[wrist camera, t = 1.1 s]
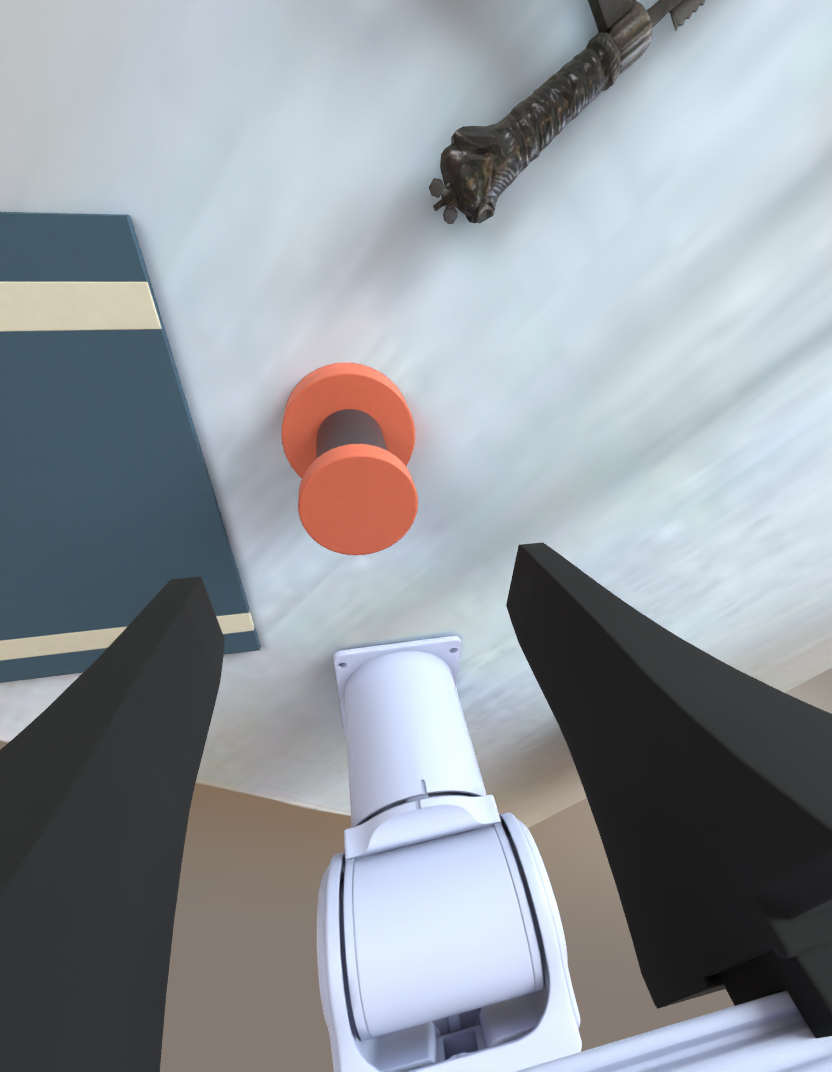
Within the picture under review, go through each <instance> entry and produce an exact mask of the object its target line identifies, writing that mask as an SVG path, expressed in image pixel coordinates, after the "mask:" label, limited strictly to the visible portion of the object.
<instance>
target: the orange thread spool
mask: <svg viewBox="0 0 832 1072" xmlns="http://www.w3.org/2000/svg"><path fill="white" fill-rule="evenodd" d="M414 443H415V428H414V422H413V419H412V416H411V413H410V411H409V408H408V406H407V404H406V402H405V400H404V398H403V396H402V394H401V392H400V391H399V390H398V388H397V387H396V386H395V385H394V383H393V382H392V381H391V380H389V379H388V378H387V377H386V376H385V375H383V374H382V373H380V372H378V371H377V370H374V369H372V368H370V367H367V366H364V365H360V364H355V363H336V364H331V365H327V366H324V367H321V368H319V369H317V370H315V371H313V372H311V373H310V374H308V375H307V376H306V377H304V378H303V379H302V380H301V381H300V382H299V383H298V384H297V386H296V387H295V388H294V390H293V391H292V393H291V395H290V397H289V399H288V401H287V404H286V408H285V413H284V418H283V424H282V444H283V448H284V452H285V454H286V457H287V459H288V461H289V463H290V465H291V466H292V468H293V469H294V470H295V472H296V473H297V474H298V475H299V476H300V477H301V478H302V480H301V484H300V488H299V502H298V510H299V516H300V520H301V522H302V525H303V527H304V528H305V530H306V531H307V533H308V534H309V535H310V536H311V537H312V538H313V539H314V540H315V541H316V542H317V543H319V544H320V545H322V546H323V547H325V548H327V549H329V550H332V551H334V552H338V553H341V554H347V555H365V554H371V553H375V552H378V551H381V550H384V549H386V548H388V547H390V546H391V545H393V544H395V543H396V542H397V541H399V540H400V539H401V538H402V537H403V536H404V535H405V534H406V533H407V531H408V530H409V529H410V527H411V525H412V524H413V522H414V519H415V517H416V513H417V508H418V497H417V492H416V489H415V486H414V483H413V480H412V477H411V475H410V473H409V471H408V469H407V468H406V466H407V464H408V462H409V460H410V458H411V455H412V452H413V448H414Z"/></svg>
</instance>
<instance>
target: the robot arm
mask: <svg viewBox="0 0 832 1072" xmlns="http://www.w3.org/2000/svg"><path fill="white" fill-rule="evenodd" d="M506 606H507V609H508V612H509V615H510V618H511V621H512V625H513V627H514V630H515V633H516V636H517V639H518V642H519V644H520V646H521V648H522V650H523V653H524V655H525V657H526V659H527V661H528V663H529V665H530V667H531V669H532V671H533V673H534V675H535V677H536V679H537V681H538V683H539V686H540V688H541V690H542V692H543V694H544V696H545V698H546V700H547V702H548V704H549V706H550V708H551V710H552V712H553V714H554V716H555V718H556V720H557V722H558V724H559V726H560V729H561V731H562V733H563V736H564V738H565V740H566V742H567V745H568V747H569V750H570V753H571V755H572V758H573V761H574V763H575V766H576V769H577V771H578V774H579V777H580V779H581V782H582V785H583V787H584V790H585V793H586V796H587V799H588V802H589V804H590V807H591V810H592V813H593V816H594V818H595V822H596V824H597V827H598V830H599V833H600V836H601V839H602V842H603V845H604V849H605V852H606V855H607V858H608V861H609V864H610V867H611V870H612V874H613V877H614V880H615V883H616V886H617V889H618V893H619V896H620V900H621V903H622V906H623V910H624V913H625V917H626V920H627V923H628V926H629V930H630V933H631V937H632V940H633V944H634V948H635V951H636V955H637V959H638V962H639V966H640V970H641V973H642V976H643V978H644V980H645V983H646V985H647V988H648V990H649V992H650V994H651V997H652V999H653V1002H654V1004H655V1006H656V1007H657V1008H661V1007H665V1006H668V1005H671V1004H675V1003H678V1002H682V1001H685V1000H689V999H692V998H696V997H699V996H702V995H705V994H709V993H713V992H716V991H720V990H723V989H726V990H727V992H728V994H729V996H730V998H731V999H732V1001H733V1003H734V1005H735V1006H733V1007H730V1008H726V1009H723V1010H720V1011H717V1012H713V1013H710V1014H706V1015H703V1016H700V1017H697V1018H693V1019H690V1020H686V1021H683V1022H679V1023H677V1024H673V1025H670V1026H666V1027H663V1028H659V1029H656V1030H653V1031H649V1032H646V1033H643V1034H639V1035H636V1036H633V1037H629V1038H626V1039H623V1040H619V1041H616V1042H612V1043H609V1044H606V1045H602V1046H599V1047H596V1048H592V1049H589V1050H586V1051H582V1052H581V1047H582V1042H581V1038H580V1035H579V1031H578V1028H579V1025H580V1016H579V1011H578V1008H577V1004H576V1000H575V996H574V992H573V988H572V983H571V980H570V975H569V970H568V965H567V949H566V943H565V937H564V932H563V928H562V923H561V919H560V915H559V912H558V908H557V904H556V901H555V897H554V894H553V891H552V887H551V884H550V881H549V878H548V875H547V872H546V869H545V867H544V864H543V861H542V858H541V856H540V853H539V851H538V848H537V846H536V844H535V842H534V840H533V837H532V835H531V834H530V832H529V830H528V828H527V827H526V826H525V825H524V824H523V823H522V822H520V821H519V820H518V819H516V818H515V816H514V815H513V814H511V813H509V812H507V813H503V814H499V813H498V809H497V806H496V803H495V799H494V796H493V795H486V791H485V788H484V784H483V781H482V777H481V774H480V770H479V767H478V763H477V760H476V756H475V753H474V749H473V746H472V742H471V739H470V736H469V732H468V729H467V725H466V722H465V718H464V715H463V711H462V708H461V704H460V701H459V697H458V694H457V690H456V682H457V674H458V666H459V659H460V651H461V640H460V638H459V637H458V636H448V637H440V638H432V639H425V640H417V641H409V642H402V643H394V644H386V645H378V646H371V647H363V648H355V649H348V650H340V651H337V652H336V653H335V654H334V656H333V661H334V668H335V675H336V681H337V688H338V694H339V701H340V708H341V714H342V721H343V727H344V734H345V736H346V737H347V748H348V768H349V787H350V806H351V824H352V828H349V829H346V830H345V831H344V837H345V839H344V840H345V852H343V853H339V854H336V855H334V856H333V858H332V859H331V861H330V864H329V866H328V868H327V869H326V871H325V873H324V875H323V877H322V880H321V884H320V890H319V897H318V910H317V960H318V975H319V986H320V994H321V1001H322V1007H323V1012H324V1017H325V1020H326V1023H327V1026H328V1029H329V1034H330V1042H331V1049H332V1058H333V1068H334V1072H832V714H830V713H828V712H825V711H823V710H821V709H819V708H816V707H814V706H812V705H809V704H807V703H805V702H803V701H801V700H799V699H796V698H794V697H792V696H790V695H788V694H786V693H783V692H781V691H779V690H777V689H775V688H773V687H771V686H769V685H767V684H765V683H763V682H761V681H759V680H757V679H755V678H753V677H751V676H749V675H747V674H745V673H743V672H741V671H739V670H737V669H735V668H733V667H731V666H729V665H727V664H725V663H723V662H722V661H720V660H718V659H716V658H714V657H713V656H711V655H709V654H707V653H705V652H704V651H702V650H700V649H698V648H697V647H695V646H693V645H691V644H690V643H688V642H686V641H684V640H683V639H681V638H679V637H678V636H676V635H674V634H673V633H671V632H669V631H668V630H666V629H665V628H663V627H662V626H660V625H658V624H657V623H655V622H654V621H652V620H651V619H649V618H648V617H646V616H645V615H643V614H641V613H640V612H638V611H637V610H635V609H634V608H633V607H631V606H630V605H628V604H627V603H625V602H624V601H622V600H621V599H620V598H618V597H617V596H615V595H614V594H612V593H611V592H610V591H608V590H607V589H605V588H604V587H603V586H601V585H600V584H599V583H597V582H596V581H595V580H593V579H592V578H590V577H589V576H588V575H586V574H585V573H584V572H582V571H581V570H580V569H578V568H577V567H576V566H574V565H573V564H572V563H570V562H569V561H568V560H566V559H565V558H564V557H562V556H561V555H560V554H558V553H557V552H556V551H554V550H553V549H551V548H550V547H548V546H547V545H546V544H544V543H534V544H524V545H519V547H518V552H517V556H516V561H515V566H514V571H513V576H512V580H511V585H510V590H509V595H508V600H507V604H506ZM224 642H225V638H224V636H223V633H222V630H221V628H220V625H219V622H218V620H217V617H216V614H215V612H214V609H213V606H212V604H211V601H210V598H209V596H208V593H207V590H206V588H205V585H204V582H203V580H202V577H201V576H199V577H189V578H178V579H171V580H170V581H169V582H168V583H167V584H166V585H165V586H164V587H163V588H162V589H161V590H160V591H159V592H158V594H157V595H156V596H155V597H154V598H153V599H152V600H151V601H150V602H149V603H148V604H147V606H146V607H145V608H144V609H143V610H142V611H141V612H140V613H139V614H138V616H137V617H136V618H135V619H134V620H133V621H132V622H131V623H130V624H129V625H128V626H127V628H126V629H125V630H124V631H123V632H122V633H121V634H120V635H119V636H118V637H117V638H116V639H115V640H114V641H113V643H112V644H111V645H110V646H109V647H108V648H107V649H106V650H105V651H104V652H103V653H102V654H101V655H100V656H99V657H98V658H97V660H96V661H95V662H94V663H93V664H92V665H91V666H90V667H89V668H88V669H87V670H86V671H85V672H84V673H83V674H81V675H80V676H79V677H78V678H77V679H76V680H75V681H74V682H73V683H72V684H71V685H70V686H69V687H68V688H67V689H66V690H65V691H64V692H63V693H62V694H61V695H60V696H59V697H58V698H57V699H56V700H55V701H54V702H53V703H52V704H51V705H50V706H49V707H48V708H47V709H46V710H45V711H44V712H43V713H41V714H40V715H39V716H38V717H37V718H36V719H35V720H34V721H33V722H32V723H31V724H29V725H28V726H27V727H26V728H25V729H24V730H23V731H22V732H21V733H19V734H18V735H17V736H16V737H15V738H14V739H13V740H11V741H10V742H9V743H8V744H7V745H6V746H5V747H3V748H2V749H1V750H0V1072H160V1060H161V1049H162V1036H163V1025H164V1013H165V1002H166V989H167V981H168V972H169V963H170V953H171V944H172V935H173V926H174V917H175V909H176V902H177V894H178V886H179V879H180V871H181V863H182V857H183V849H184V843H185V837H186V836H185V835H186V830H187V823H188V816H189V810H190V805H191V800H192V796H193V791H194V786H195V782H196V778H197V774H198V770H199V766H200V762H201V758H202V754H203V750H204V746H205V742H206V738H207V734H208V730H209V726H210V722H211V718H212V714H213V710H214V706H215V702H216V697H217V693H218V689H219V685H220V678H221V670H222V662H223V652H224Z"/></svg>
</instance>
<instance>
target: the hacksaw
mask: <svg viewBox="0 0 832 1072" xmlns="http://www.w3.org/2000/svg"><path fill="white" fill-rule="evenodd" d="M588 2H589V4H590V7H591V10H592V13H593V16H594V19H595V22H596V25H597V28H598V31H599V33H598V34H597V35H596V36H595V37H593V38H592V39H591V40H590V41H589V43H588V45H587V47H586V49H585V50H583V51H582V52H581V53H579V54H578V55H577V56H575V57H574V58H573V60H572V61H570V62H568V63H567V64H565V65H564V66H563V67H562V68H561V69H560V70H559V72H558V73H556V74H554V75H553V76H552V77H550V78H549V79H548V80H547V81H546V82H545V83H544V84H543V85H542V86H541V87H540V88H538V89H536V90H535V91H534V93H533V94H532V95H531V96H530V97H528V98H527V99H526V100H524V101H523V102H521V103H519V104H518V105H517V106H516V107H515V108H513V110H512V111H511V112H510V114H509V115H507V116H506V117H505V118H503V119H502V120H501V121H500V122H498V123H496V124H493V125H490V126H487V127H482V126H466V127H462V128H460V129H458V130H456V131H455V133H454V134H453V136H452V137H451V145H450V146H448V147H447V148H445V150H444V151H443V152H442V154H441V162H440V169H441V173H442V177H443V181H444V184H443V183H442V181H441V180H440V179H435V178H434V179H433V181H432V183H431V184H430V186H429V189H430V192H431V195H432V196H435V197H437V198H439V197H440V196H441V197H442V199H441V200H440V201H439V202H437V203H436V204H435V205H433V208H434V210H435V211H437V210H438V209H440V208H441V207H442V206H444V205H445V206H446V209H445V210H444V213H443V217H444V221H445V222H447V223H448V224H453V223H454V222H455V220H456V219H457V211H456V209H455V207H457V208H458V209H459V210H460V211H461V212H462V213H463V214H465V216H466V217H467V219H468V220H469V222H472V223H477V222H478V223H481V222H483V221H484V220H486V219H488V218H490V217H492V216H493V214H494V210H495V204H496V201H497V198H498V197H499V195H500V194H501V193H502V192H503V191H504V189H505V188H506V187H508V186H509V185H510V184H511V183H512V182H513V181H514V179H515V178H516V177H517V175H518V174H519V173H520V172H521V171H522V170H524V169H525V168H526V167H527V166H528V164H529V162H531V161H532V160H534V159H535V158H537V157H538V156H539V153H540V152H541V151H542V150H543V149H544V148H545V147H546V146H547V145H548V144H549V143H550V142H551V141H552V139H553V138H554V137H555V136H556V135H557V134H559V133H560V132H561V130H562V129H563V128H564V127H565V126H566V125H567V124H568V123H569V122H570V121H571V120H572V119H574V118H575V117H576V116H577V115H578V114H579V113H580V112H581V110H582V109H583V108H585V107H586V106H587V105H588V104H589V103H590V102H591V101H593V100H594V99H595V98H596V97H597V95H598V94H599V93H600V92H601V91H604V90H607V89H608V88H609V87H611V86H612V85H613V84H614V82H615V80H616V78H617V76H618V75H619V74H620V73H622V72H623V71H625V70H626V69H627V68H628V67H629V66H631V65H632V64H633V63H634V62H635V61H636V60H637V59H638V58H639V57H640V56H641V55H642V54H643V53H644V51H645V50H646V49H647V47H648V46H649V44H650V40H651V35H652V28H653V27H654V26H655V25H656V24H657V23H658V22H659V21H660V20H661V19H662V18H663V17H664V16H665V15H666V14H667V13H668V12H670V15H671V18H672V21H673V24H674V27H675V30H677V28H678V26H680V25H683V23H684V21H685V19H689V18H690V16H691V14H692V12H696V11H697V9H698V7H699V6H701V5H704V2H705V0H659V1H658V2H657V3H656V4H654V5H653V6H652V7H651V8H649V9H648V10H647V11H646V10H645V9H644V7H643V6H642V4H640V3H639V2H637V1H636V0H588Z"/></svg>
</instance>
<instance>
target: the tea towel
mask: <svg viewBox="0 0 832 1072" xmlns="http://www.w3.org/2000/svg"><path fill="white" fill-rule="evenodd" d="M199 576H201V577H202V580H203V582H204V585H205V588H206V590H207V593H208V596H209V598H210V601H211V604H212V606H213V609H214V612H215V614H216V617H217V620H218V622H219V625H220V628H221V630H222V633H223V636H224V638H225V642H224V652H223V655H224V654H232V653H240V652H248V651H256V650H260V647H261V646H260V643H259V639H258V636H257V633H256V629H255V626H254V623H253V620H252V616H251V613H250V610H249V606H248V603H247V600H246V597H245V593H244V590H243V587H242V583H241V580H240V577H239V573H238V570H237V567H236V564H235V560H234V557H233V554H232V550H231V547H230V544H229V541H228V537H227V534H226V531H225V527H224V524H223V521H222V517H221V514H220V511H219V508H218V504H217V501H216V498H215V494H214V491H213V488H212V484H211V481H210V478H209V475H208V471H207V468H206V465H205V461H204V458H203V455H202V452H201V448H200V445H199V442H198V438H197V435H196V432H195V428H194V425H193V422H192V419H191V415H190V412H189V409H188V405H187V402H186V399H185V395H184V392H183V389H182V386H181V382H180V379H179V376H178V372H177V369H176V366H175V363H174V359H173V356H172V353H171V349H170V346H169V343H168V339H167V336H166V333H165V330H164V326H163V323H162V320H161V316H160V313H159V310H158V307H157V303H156V300H155V297H154V293H153V290H152V287H151V283H150V280H149V277H148V274H147V270H146V267H145V264H144V260H143V257H142V254H141V250H140V247H139V244H138V241H137V237H136V234H135V231H134V227H133V224H132V221H131V218H130V215H108V214H65V213H22V212H0V683H2V682H10V681H18V680H26V679H34V678H42V677H50V676H58V675H65V674H73V673H81V672H85V671H86V670H87V669H88V668H89V667H90V666H91V665H92V664H93V663H94V662H95V661H96V660H97V658H98V657H99V656H100V655H101V654H102V653H103V652H104V651H105V650H106V649H107V648H108V647H109V646H110V645H111V644H112V643H113V641H114V640H115V639H116V638H117V637H118V636H119V635H120V634H121V633H122V632H123V631H124V630H125V629H126V628H127V626H128V625H129V624H130V623H131V622H132V621H133V620H134V619H135V618H136V617H137V616H138V614H139V613H140V612H141V611H142V610H143V609H144V608H145V607H146V606H147V604H148V603H149V602H150V601H151V600H152V599H153V598H154V597H155V596H156V595H157V594H158V592H159V591H160V590H161V589H162V588H163V587H164V586H165V585H166V584H167V583H168V582H169V581H170V580H171V579H178V578H189V577H199Z"/></svg>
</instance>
